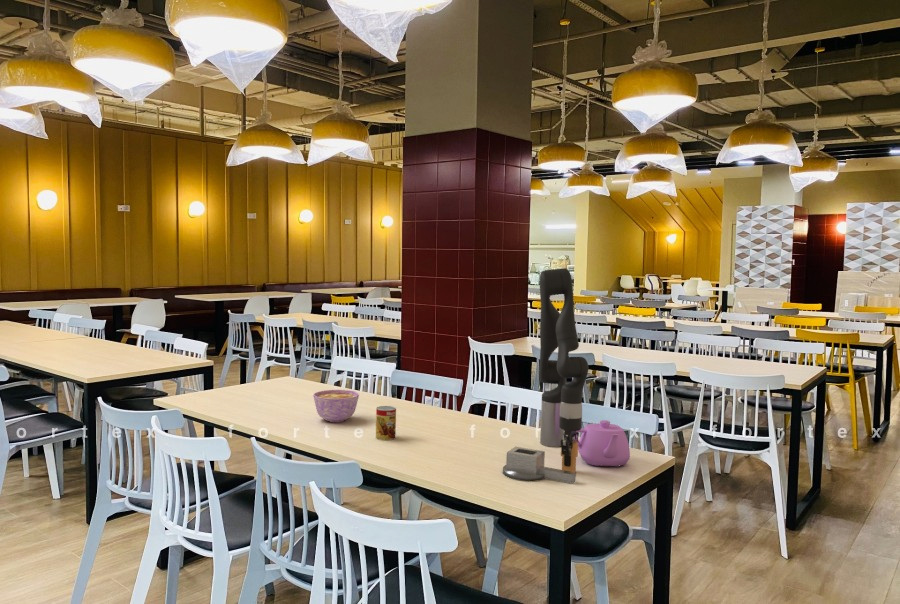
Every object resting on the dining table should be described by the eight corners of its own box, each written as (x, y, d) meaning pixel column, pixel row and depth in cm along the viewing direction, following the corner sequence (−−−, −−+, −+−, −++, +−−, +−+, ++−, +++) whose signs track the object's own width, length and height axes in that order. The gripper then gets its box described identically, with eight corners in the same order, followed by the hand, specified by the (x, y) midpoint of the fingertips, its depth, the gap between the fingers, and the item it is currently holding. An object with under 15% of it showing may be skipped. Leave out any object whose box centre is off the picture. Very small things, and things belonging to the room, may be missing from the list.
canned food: (392, 441, 252) (392, 410, 252) (373, 439, 254) (373, 409, 253) (397, 435, 260) (398, 406, 259) (379, 434, 262) (379, 405, 261)
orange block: (563, 468, 223) (564, 439, 222) (577, 470, 220) (578, 441, 220) (560, 470, 220) (561, 441, 219) (574, 473, 218) (575, 444, 217)
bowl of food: (367, 418, 287) (368, 393, 287) (340, 428, 270) (340, 400, 269) (332, 412, 297) (332, 388, 296) (303, 421, 279) (303, 395, 278)
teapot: (564, 454, 240) (565, 415, 239) (619, 455, 241) (621, 415, 240) (578, 474, 217) (580, 430, 216) (640, 475, 218) (642, 431, 217)
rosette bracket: (512, 464, 227) (513, 443, 226) (580, 476, 216) (581, 454, 215) (495, 475, 214) (496, 453, 213) (567, 489, 202) (568, 466, 202)
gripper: (566, 409, 227) (564, 457, 228) (553, 417, 214) (551, 468, 216) (587, 412, 224) (585, 461, 225) (575, 420, 211) (573, 472, 212)
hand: (568, 464), depth 220 cm, fingers closed on orange block, 3 cm apart
